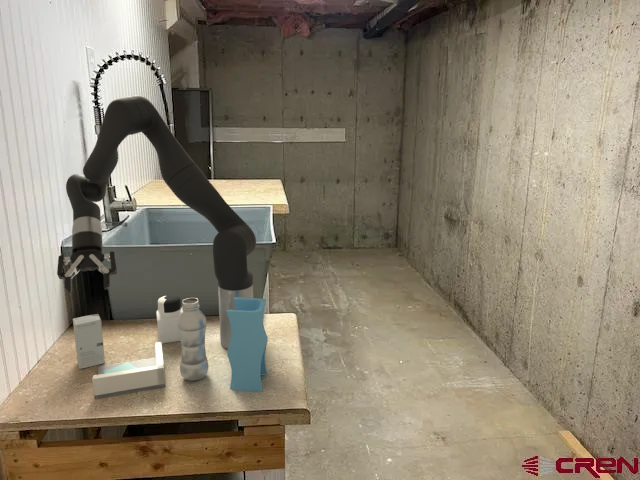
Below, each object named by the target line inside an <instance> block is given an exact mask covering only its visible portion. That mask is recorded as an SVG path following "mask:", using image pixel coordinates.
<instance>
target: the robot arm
mask: <svg viewBox="0 0 640 480" xmlns="http://www.w3.org/2000/svg"><path fill="white" fill-rule="evenodd" d="M140 133H142V134H143V135H144V136H145V137H146V138H147V139H148V141H149V142H150V144H151V145H152V146H153V148H154V149H155V151H156V155H157V159H158V164H159V165H158V166H159V171H160V174H161V177H162V180H163V181H164V182H165V184H166V185H167V187H168V188H169V189H170V190H171V191H172V193H173V194H174V195H175V196H176V198H177V199H178V200H179V201H181V203H183V204H184V205H185V206H187V207H188V208H190V209H192V210H193V211H195V213H196V212H197V213H198V214H200V215H201V216H202V217H204V218H205V219H206V220H207V221H208V222H210V224H211V225H212V226H213V227H214V229H215V230H216V231H217V234H216V235H215V236H214V238H213V242H212V257H213V259H212V260H213V270H214V275H215V277H216V280H217V286H218V287H217V291H218V314H219V317H218V318H219V333H220V335H219V338H220V339H219V341H220V345H221V347H223V348H224V349H227V350H228V348H229V345H230V340H231V325H230V321H229V318H228V315H227V313H226V311H227V310H236V308H235V304H234V297H239V298H254V278H253V274H252V272H251V271H249V270H248V256H249V255H250V254H252V253H253V251H255V249H256V246H257V239H256V235H255V233H254V231H253V230H252V228H251V227H250V226H249V225H248V224H247V223H246V221H244V220H243V219H242V218H241V217H240V216H239V215H238V213H237V212H235V210H234V209H233V208H231V206H230V204H228V202H226V200H225V199H224V198H223V196H222V195H221V194H220V193H219V191H218V190H217V189H216V188H215V186H214V185H213V184H212V183H211V181H210V180H209V179H208V178H207V176H206V175H205V174H204V172H203V171H202V169H201V168H200V167H199V166H198V165H197V163H196V162H195V161H194V160H193V159H192V158H191V156H190V155H189V154H188V153H187V151H186V150H185V149H184V147H183V145H181V144H180V142H179V141H178V140H177V138H176V137H175V136H174V134H173V133H172V131H171V130H170V128H169V127H168V125H167V123H166V122H165V120H164V119H163V117H162V116H161V114H160V112H159V111H158V110H157V108H156V107H155V105H154V104H153V103H152V102H151V101H150V100H149V99H148V98H147V97H145V96H143V95H138V94H134V95H129V96H124V97H120V98H115V99H113V100H112V101H111V102H109V104H108V105H107V108H106V109H105V113H104V115H103V119H102V122H101V126H100V129H99V133H98V136H97V139H96V142H95V145H94V147H93V149H92V151H91V153H90V154H89V156H88V158H87V160H86V162H85V163H84V166H83V167H82V168H83V169H82V173H83V174H79V173H74V174H72V175H70V176H69V177H68V179H67V181H66V183H65V190H66V194H67V197H68V200H69V202H70V205H71V209H72V218H73V219H72V222H73V223H72V228H71V255H70V256H64V255H59V256H58V260H57V268H56V269H57V272H56V274H57V277H58V279H60V280H64V288H65V291H66V292H68V294H72V293H73V278H74V277H75V276H76V275H78V274H79V272H80V271H81V272H88V271H92V272H93V271H95V270H98V272H100V273H102V274H103V288H104V290H108V289H109V288H110V286H111V276H112V275H117V274H118V269H117V267H118V266H117V262H116V261H117V260H116V254H115V251H110V252H109V253H104V250H103V230H102V229H103V228H102V223H101V208H100V206H99V205H98V204H97V203H98V202H101V201H102V200H104V199H105V197H106V194H107V193H106V192H107V185H108V182H109V178H110V177H111V175H112V173H113V172H114V170H115V169H116V166H117V165H118V163H119V151H118V148H119V146H120V144H121V143H122V142H123V141H124V140H125V139H126V138H127V137H128V136H130V135H131V136H132V135H136V134H140ZM105 259H106V260H107V262H110V268H109V269H108V268H107V267H106V266H105V265H104V264H103V262H104V261H105ZM69 263H72V264H71V265H70V267H69V269H68V270H67V271H66V272H65V270H66V269H65V268H66V266H67V265H68V264H69Z"/></svg>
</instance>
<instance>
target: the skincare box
mask: <svg viewBox="0 0 640 480" xmlns="http://www.w3.org/2000/svg"><path fill="white" fill-rule="evenodd" d="M72 323H73V333H74V343H75V351H76V359H77V360H76V361H77V365H78V367H79V370H81V369H86V368H90V367H94V366H95V367H96V366H100V365H103V364H105V363H106V359H105V357H106V356H105V349H104V340H103V339H104V338H103V327H102V326H103V325H102V319H101V317H100V315H99V314H98V313H96V314H89V315H84V316H83V315H82V316H80V317H75V318H72Z"/></svg>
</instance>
